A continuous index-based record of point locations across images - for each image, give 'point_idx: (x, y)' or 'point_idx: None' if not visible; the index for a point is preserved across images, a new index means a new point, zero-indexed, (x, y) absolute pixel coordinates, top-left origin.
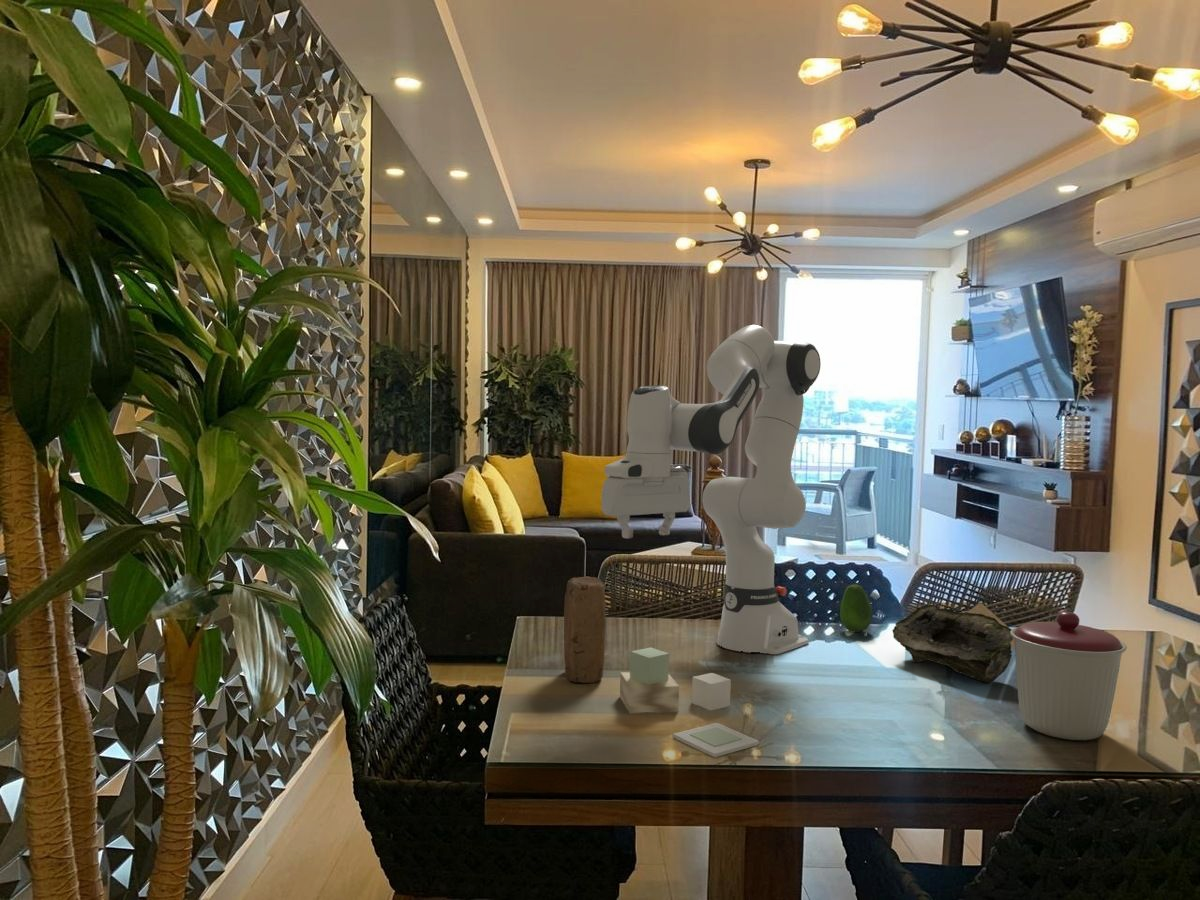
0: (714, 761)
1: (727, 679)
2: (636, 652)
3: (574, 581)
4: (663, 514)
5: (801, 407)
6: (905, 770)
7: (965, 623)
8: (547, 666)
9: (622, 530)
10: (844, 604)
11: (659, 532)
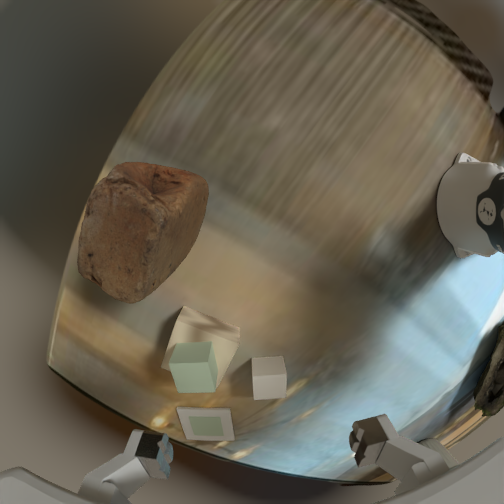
0: (183, 439)
1: (283, 396)
2: (173, 370)
3: (84, 238)
4: (415, 475)
5: None
6: (288, 475)
7: None
8: (161, 142)
9: (127, 449)
10: None
11: (356, 427)
